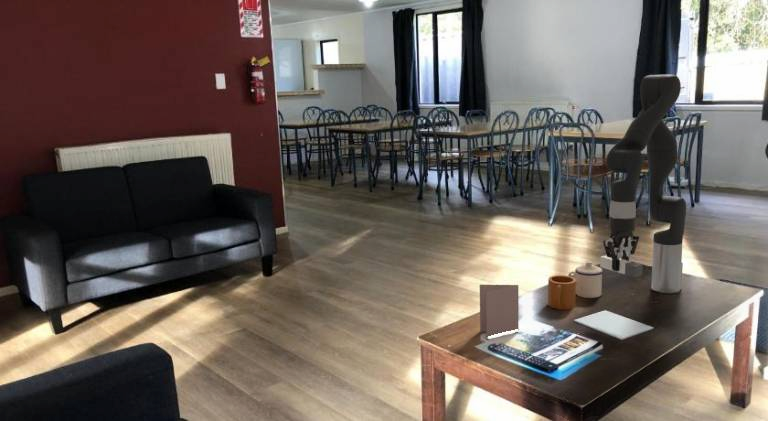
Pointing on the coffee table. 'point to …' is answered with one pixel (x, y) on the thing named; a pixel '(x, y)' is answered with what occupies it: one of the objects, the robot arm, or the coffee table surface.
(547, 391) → the coffee table surface
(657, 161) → the robot arm
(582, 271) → the teacup with lid
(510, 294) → the greeting card
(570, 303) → the mug
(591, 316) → the paper pad
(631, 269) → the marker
